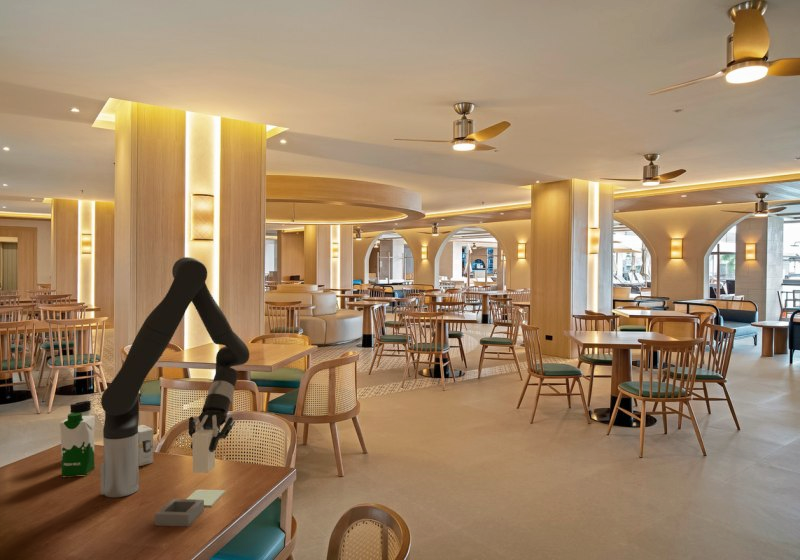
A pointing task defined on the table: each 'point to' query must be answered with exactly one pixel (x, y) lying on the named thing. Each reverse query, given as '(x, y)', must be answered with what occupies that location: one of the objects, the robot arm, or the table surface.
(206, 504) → the mat
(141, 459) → the ink box
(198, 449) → the cream carton
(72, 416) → the milk carton
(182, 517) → the grey square frame
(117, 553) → the table surface
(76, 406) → the travel mug
